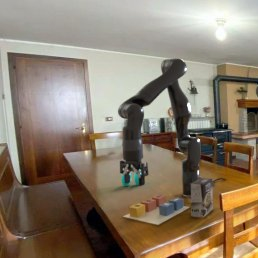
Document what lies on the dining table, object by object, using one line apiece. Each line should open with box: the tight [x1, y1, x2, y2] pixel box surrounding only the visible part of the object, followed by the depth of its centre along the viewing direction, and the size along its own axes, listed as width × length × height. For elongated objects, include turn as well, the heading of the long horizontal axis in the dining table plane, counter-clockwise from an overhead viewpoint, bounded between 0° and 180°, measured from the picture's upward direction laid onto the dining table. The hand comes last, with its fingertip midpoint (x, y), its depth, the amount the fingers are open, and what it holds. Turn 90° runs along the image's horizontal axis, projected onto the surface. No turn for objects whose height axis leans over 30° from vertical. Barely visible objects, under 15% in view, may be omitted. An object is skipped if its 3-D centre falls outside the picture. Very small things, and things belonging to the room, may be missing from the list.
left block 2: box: [151, 194, 167, 207], centre depth 123 cm, size 4×4×4 cm
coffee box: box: [190, 177, 214, 218], centre depth 115 cm, size 9×6×16 cm
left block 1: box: [140, 198, 156, 212], centre depth 118 cm, size 4×4×4 cm
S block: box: [129, 202, 145, 218], centre depth 112 cm, size 4×4×4 cm
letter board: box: [122, 205, 190, 226], centre depth 116 cm, size 19×21×1 cm
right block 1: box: [159, 201, 174, 216], centre depth 114 cm, size 4×4×4 cm
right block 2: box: [168, 197, 184, 211], centre depth 120 cm, size 4×4×4 cm
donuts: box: [121, 172, 142, 187], centre depth 152 cm, size 10×10×10 cm
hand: (134, 184), depth 110 cm, fingers open, 8 cm apart
